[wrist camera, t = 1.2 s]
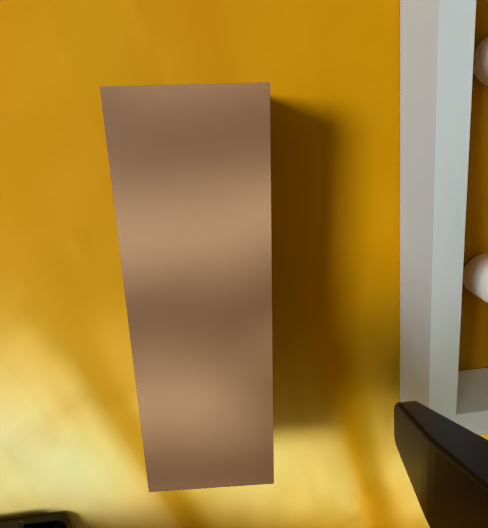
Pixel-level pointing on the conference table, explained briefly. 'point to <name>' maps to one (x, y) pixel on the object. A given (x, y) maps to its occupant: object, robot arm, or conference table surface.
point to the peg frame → (438, 207)
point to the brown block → (197, 275)
